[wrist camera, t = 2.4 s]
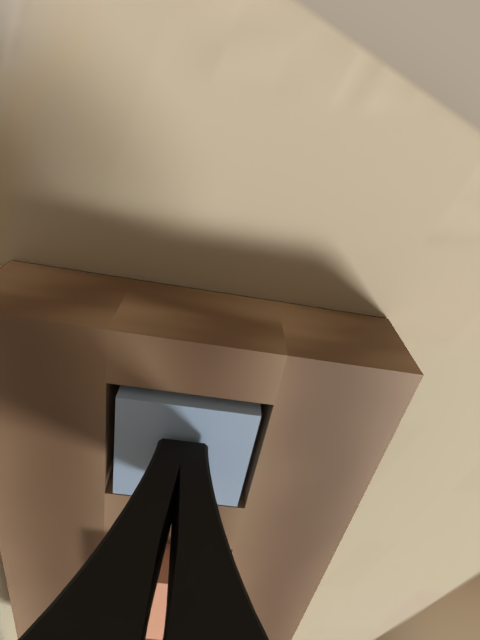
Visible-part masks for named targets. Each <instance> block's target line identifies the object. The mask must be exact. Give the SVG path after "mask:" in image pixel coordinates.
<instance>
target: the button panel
mask: <svg viewBox="0 0 480 640" xmlns="http://www.w3.org/2000/svg"><path fill="white" fill-rule="evenodd" d="M422 377H423V374H422V372H421V370H420V369H419V367H418V366H417V364H416V362H415V361H414V359H413V358H412V356H411V355H410V353H409V351H408V350H407V348H406V347H405V345H404V343H403V342H402V340H401V339H400V337H399V335H398V334H397V332H396V331H395V329H394V327H393V326H392V324H391V323H390V321H389V319H386V318H380V317H374V316H367V315H361V314H354V313H348V312H341V311H335V310H328V309H322V308H315V307H309V306H302V305H296V304H289V303H283V302H277V301H270V300H264V299H257V298H251V297H244V296H238V295H231V294H225V293H218V292H212V291H205V290H199V289H192V288H186V287H180V286H173V285H167V284H160V283H154V282H147V281H141V280H134V279H128V278H121V277H115V276H108V275H102V274H95V273H89V272H83V271H76V270H70V269H63V268H57V267H50V266H44V265H37V264H31V263H24V262H18V261H11V260H10V261H9V262H8V263H7V264H5V265H4V266H3V267H2V268H0V553H1V557H2V562H3V567H4V572H5V577H6V582H7V587H8V592H9V597H10V602H11V607H12V612H13V617H14V622H15V626H16V631H17V636H18V639H19V638H20V637H21V636H22V635H23V634H24V633H25V631H26V630H27V629H28V628H29V627H30V626H31V625H32V624H33V623H34V622H35V621H36V620H37V618H38V617H39V616H40V615H41V614H42V613H43V612H44V611H45V610H46V609H47V608H48V606H49V605H50V604H51V603H52V602H53V601H54V600H55V598H56V597H57V596H58V595H59V594H60V593H61V591H62V590H63V589H64V588H65V587H66V585H67V584H68V583H69V582H70V581H71V579H72V578H73V577H74V576H75V575H76V573H77V572H78V571H79V570H80V568H81V567H82V566H83V565H84V563H85V562H86V561H87V559H88V558H89V557H90V556H91V554H92V553H93V552H94V550H95V549H96V548H97V546H98V545H99V544H100V542H101V541H102V539H103V538H104V537H105V535H106V534H107V532H108V531H109V529H110V528H111V526H112V525H113V523H114V522H115V520H116V519H117V517H118V516H119V515H120V513H121V512H122V510H123V509H124V507H125V505H126V504H127V502H128V501H129V499H130V497H131V496H132V495H125V494H116V493H113V469H114V434H115V400H116V395H117V393H118V390H119V387H120V385H125V386H132V387H140V388H147V389H155V390H163V391H170V392H178V393H185V394H193V395H201V396H208V397H216V398H223V399H231V400H239V401H246V402H254V403H261V420H260V423H259V427H258V431H257V435H256V438H255V442H254V446H253V449H252V453H251V457H250V461H249V464H248V468H247V472H246V476H245V479H244V483H243V487H242V490H241V494H240V498H239V502H238V505H237V507H235V506H226V505H218V509H219V513H220V517H221V520H222V524H223V527H224V530H225V534H226V537H227V540H228V543H229V546H230V549H231V552H232V555H233V558H234V560H235V563H236V566H237V568H238V571H239V573H240V576H241V579H242V581H243V584H244V586H245V588H246V591H247V593H248V595H249V598H250V600H251V602H252V605H253V607H254V609H255V611H256V613H257V615H258V618H259V620H260V622H261V624H262V626H263V628H264V630H265V632H266V634H267V636H268V638H269V640H291V639H292V637H293V635H294V633H295V631H296V629H297V627H298V625H299V623H300V621H301V619H302V617H303V615H304V613H305V611H306V609H307V607H308V605H309V603H310V601H311V599H312V597H313V595H314V593H315V591H316V589H317V587H318V585H319V583H320V581H321V579H322V577H323V575H324V573H325V571H326V569H327V567H328V565H329V563H330V561H331V559H332V557H333V555H334V553H335V551H336V549H337V547H338V545H339V543H340V541H341V539H342V537H343V535H344V533H345V531H346V529H347V527H348V525H349V523H350V521H351V519H352V517H353V515H354V513H355V511H356V509H357V507H358V505H359V503H360V501H361V499H362V497H363V495H364V493H365V491H366V489H367V487H368V485H369V483H370V481H371V479H372V477H373V475H374V473H375V471H376V469H377V467H378V465H379V463H380V461H381V459H382V457H383V455H384V453H385V451H386V449H387V447H388V445H389V443H390V441H391V439H392V437H393V435H394V433H395V431H396V429H397V427H398V425H399V423H400V421H401V419H402V417H403V415H404V413H405V411H406V409H407V407H408V405H409V403H410V401H411V399H412V397H413V395H414V393H415V391H416V389H417V387H418V385H419V383H420V381H421V379H422ZM171 525H172V524H171ZM170 541H171V528H170V532H169V536H168V541H167V543H168V544H170Z"/></svg>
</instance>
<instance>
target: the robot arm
mask: <svg viewBox="0 0 480 640" xmlns="http://www.w3.org/2000/svg"><path fill="white" fill-rule="evenodd" d="M171 524H172V525H171ZM170 528H171V541H170V556H169V573H168V589H167V605H166V616H165V627H164V634H163V640H269V638H268V636H267V634H266V632H265V630H264V628H263V626H262V624H261V622H260V620H259V618H258V615H257V613H256V611H255V609H254V607H253V605H252V602H251V600H250V598H249V595H248V593H247V591H246V588H245V586H244V584H243V581H242V579H241V576H240V573H239V571H238V568H237V566H236V563H235V560H234V558H233V555H232V552H231V549H230V546H229V543H228V540H227V537H226V534H225V530H224V527H223V524H222V520H221V517H220V513H219V509H218V505H217V501H216V497H215V493H214V489H213V484H212V478H211V473H210V466H209V457H208V446H207V445H206V444H205V443H198V442H189V441H181V440H173V439H165V438H162V439H161V440H159V441H158V444H157V447H156V449H155V452H154V454H153V456H152V459H151V461H150V463H149V465H148V467H147V469H146V471H145V473H144V475H143V476H142V478H141V480H140V482H139V484H138V485H137V487H136V489H135V490H134V492H133V494H132V496H131V497H130V499H129V501H128V502H127V504H126V505H125V507H124V509H123V510H122V512H121V513H120V515H119V516H118V517H117V519H116V520H115V522H114V523H113V525H112V526H111V528H110V529H109V531H108V532H107V534H106V535H105V537H104V538H103V539H102V541H101V542H100V544H99V545H98V546H97V548H96V549H95V550H94V552H93V553H92V554H91V556H90V557H89V558H88V559H87V561H86V562H85V563H84V565H83V566H82V567H81V568H80V570H79V571H78V572H77V573H76V575H75V576H74V577H73V578H72V579H71V581H70V582H69V583H68V584H67V585H66V587H65V588H64V589H63V590H62V591H61V593H60V594H59V595H58V596H57V597H56V598H55V600H54V601H53V602H52V603H51V604H50V605H49V606H48V608H47V609H46V610H45V611H44V612H43V613H42V614H41V615H40V616H39V617H38V618H37V620H36V621H35V622H34V623H33V624H32V625H31V626H30V627H29V628H28V629H27V630H26V631H25V633H24V634H23V635H22V636H21V637H20V638H19V639H18V640H146V633H147V627H148V622H149V617H150V612H151V608H152V603H153V599H154V595H155V591H156V587H157V582H158V578H159V574H160V570H161V566H162V562H163V557H164V553H165V549H166V545H167V541H168V536H169V532H170Z"/></svg>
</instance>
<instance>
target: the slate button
mask: <svg viewBox="0 0 480 640" xmlns="http://www.w3.org/2000/svg"><path fill="white" fill-rule="evenodd" d="M260 420H261V403H254V402H246V401H239V400H231V399H223V398H216V397H208V396H201V395H193V394H185V393H178V392H170V391H163V390H155V389H147V388H140V387H132V386H125V385H120V387H119V390H118V393H117V395H116V400H115V434H114V469H113V493H116V494H125V495H132V494H133V492H134V490H135V489H136V487H137V485H138V484H139V482H140V480H141V478H142V476H143V475H144V473H145V471H146V469H147V467H148V465H149V463H150V461H151V459H152V456H153V454H154V452H155V449H156V447H157V444H158V441H159V440H161V439H162V438H165V439H173V440H181V441H189V442H198V443H205V444H206V445H207V446H208V457H209V466H210V473H211V478H212V484H213V489H214V493H215V497H216V501H217V505H226V506H235V507H237V505H238V502H239V498H240V494H241V490H242V487H243V483H244V479H245V476H246V472H247V468H248V464H249V461H250V457H251V453H252V449H253V446H254V442H255V438H256V435H257V431H258V427H259V423H260Z"/></svg>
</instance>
